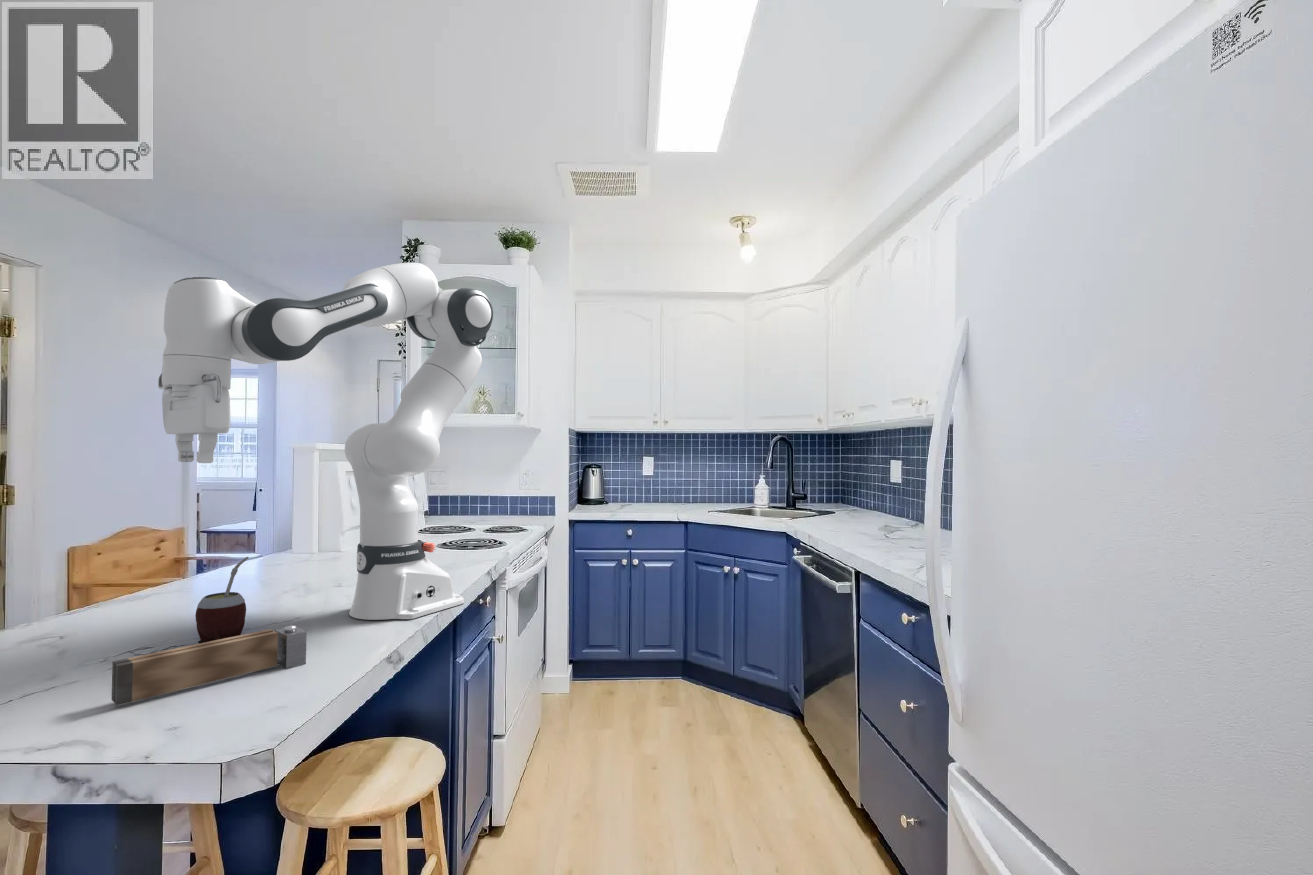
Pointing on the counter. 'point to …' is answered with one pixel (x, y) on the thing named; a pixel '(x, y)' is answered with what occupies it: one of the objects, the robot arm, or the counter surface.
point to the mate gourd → (221, 613)
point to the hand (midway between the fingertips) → (195, 462)
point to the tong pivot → (291, 646)
